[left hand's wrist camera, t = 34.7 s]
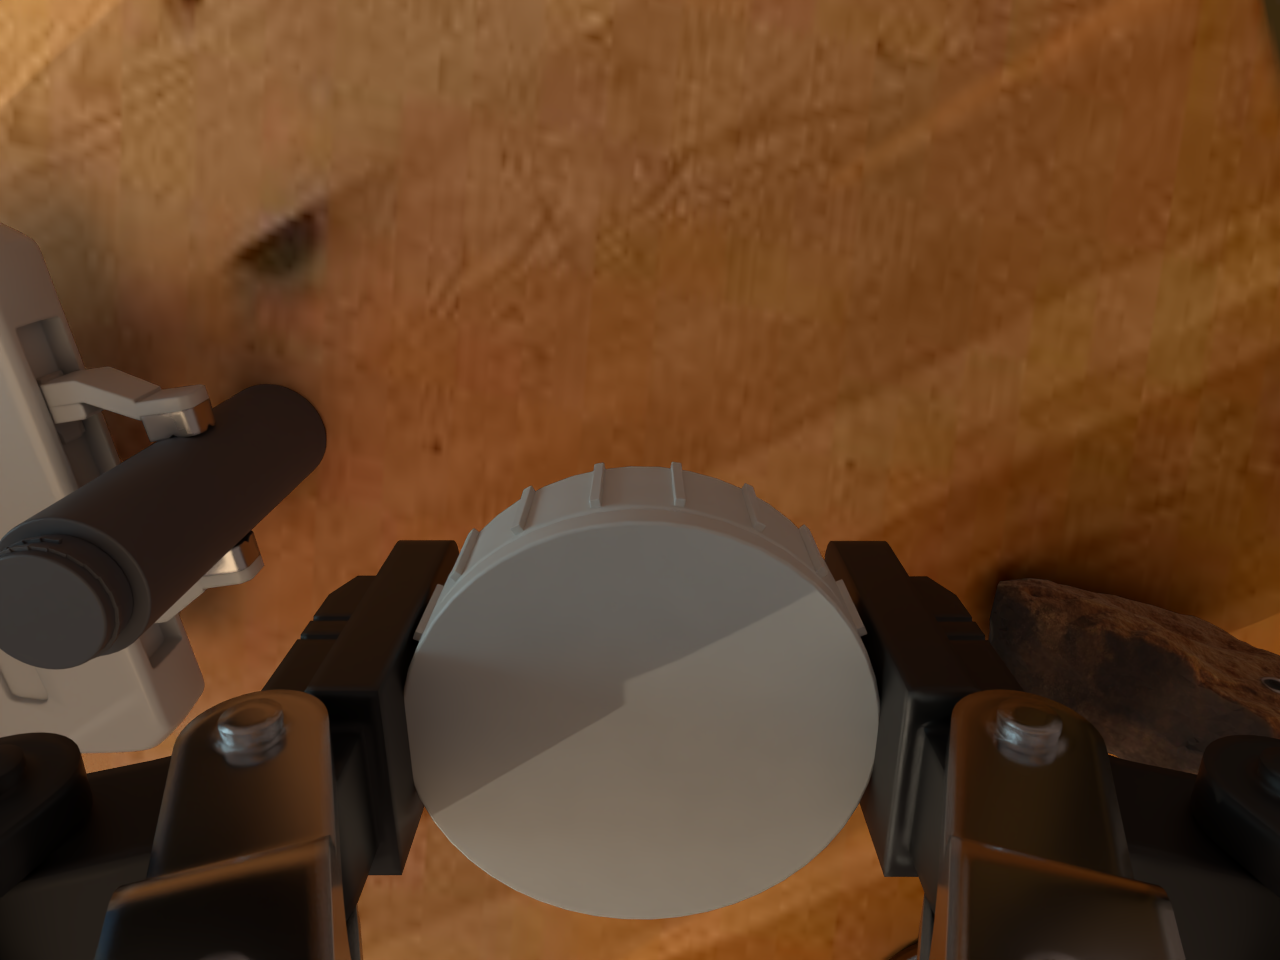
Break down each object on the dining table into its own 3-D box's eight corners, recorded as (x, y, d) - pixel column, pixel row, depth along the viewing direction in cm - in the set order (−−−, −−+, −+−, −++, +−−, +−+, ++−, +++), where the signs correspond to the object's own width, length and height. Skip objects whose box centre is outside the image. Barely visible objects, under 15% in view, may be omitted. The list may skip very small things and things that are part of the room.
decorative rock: (1237, 590, 40) (1435, 735, 30) (1186, 697, 43) (1356, 866, 33) (992, 550, 40) (1113, 686, 30) (953, 661, 42) (1053, 824, 32)
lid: (374, 498, 10) (328, 561, 8) (832, 420, 9) (868, 471, 8) (484, 847, 12) (461, 951, 10) (870, 793, 11) (905, 891, 10)
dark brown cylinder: (292, 368, 37) (56, 514, 22) (345, 459, 38) (156, 653, 24) (203, 407, 37) (-83, 574, 23) (258, 495, 39) (22, 705, 24)
